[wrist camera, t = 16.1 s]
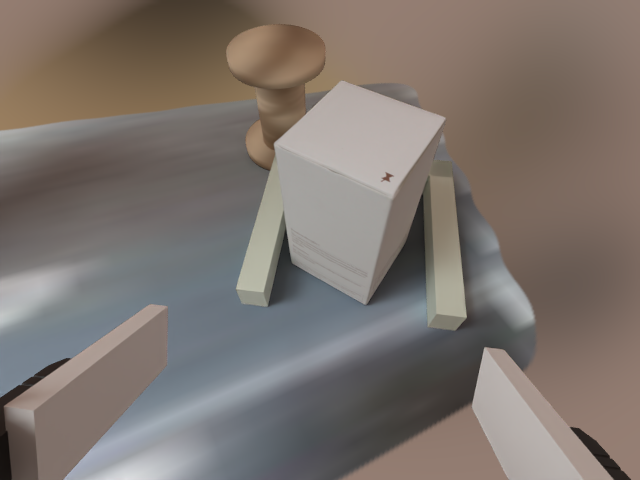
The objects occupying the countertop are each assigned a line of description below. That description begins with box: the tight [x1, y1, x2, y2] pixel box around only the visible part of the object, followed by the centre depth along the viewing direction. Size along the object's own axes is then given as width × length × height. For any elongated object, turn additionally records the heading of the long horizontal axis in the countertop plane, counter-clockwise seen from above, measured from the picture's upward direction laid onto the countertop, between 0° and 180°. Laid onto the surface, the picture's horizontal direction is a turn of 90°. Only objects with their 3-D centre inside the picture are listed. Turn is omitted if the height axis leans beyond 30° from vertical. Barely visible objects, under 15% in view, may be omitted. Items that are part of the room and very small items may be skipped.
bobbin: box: [226, 24, 325, 171], centre depth 33 cm, size 8×8×10 cm
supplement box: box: [274, 80, 446, 305], centre depth 25 cm, size 7×7×13 cm
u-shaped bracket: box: [236, 154, 467, 331], centre depth 30 cm, size 16×15×2 cm
